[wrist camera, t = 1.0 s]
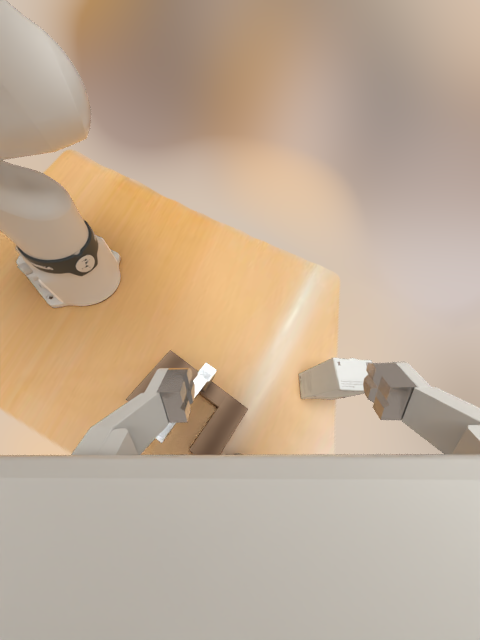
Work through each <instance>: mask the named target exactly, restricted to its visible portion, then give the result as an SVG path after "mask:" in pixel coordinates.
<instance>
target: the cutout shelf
mask: <svg viewBox="0 0 480 640" xmlns="http://www.w3.org/2000/svg"><path fill="white" fill-rule="evenodd" d="M159 368H190V369H191V371H192V378H191V380H192V381H194V379H195V378H196V377H197V373H198V371H197V370H196V369H195V368H193V367H192V366H191V365H189V364H188V363H187V362H185V361H184V360H183V359H181V358H180V357H179V356H177V355H176V354H175V353H173V352H172V351H171V350H170V351H169V352H168V353H167V354H166V355H165V356H164V358H163V359H162V360H161V361H160V362H159V363H158V364H157V365H156V366H155V368H154V369H153V370H152V371H151V372H150V373H149V374H148V375H147V376H146V378H145V379H144V380H143V381H142V382H141V383H140V384H139V385H138V387H137V388H136V389H135V390H134V391H133V392H132V393H131V394H130V395H129V397H128V398H127V399H126V400H127V401H128V402H129V401H130V400H132V399H133V398H135V397H136V396H137V395H139V394H140V393H144V392H145V391H146V389H147V387H148V385H149V383H150V382H151V380H152V378H153V376H154V374H155V373H156V371H157V370H158V369H159ZM199 394H201V395H202V396H203V397H205V398H206V399H207V400H209V401H210V402H211V403H212V404H214V405H215V406H216V407H218V408H217V409H216V411H215V412H214V414H213V415H212V417H211V418H210V420H209V421H208V422H207V424H206V425H205V427H204V428H203V430H202V431H201V433H200V434H199V436H198V437H197V438H196V440H195V441H194V443H193V444H192V446H191V447H190V449H189V451H191V452H192V453H193V454H194V455H220V453H221V452H222V450H223V449H224V447H225V445H226V444H227V442H228V441H229V439H230V437H231V436H232V434H233V432H234V431H235V429H236V428H237V426H238V424H239V423H240V421H241V420H242V418H243V416H244V415H245V413H246V411H247V410H248V409H247V408H246V407H245V406H243V405H242V404H241V403H239V402H238V401H237V400H235V399H234V398H233V397H231V396H230V395H229V394H228V393H226V392H225V391H224V390H222V389H221V388H220V387H218V386H217V385H216V384H214V383H213V382H211V384H210V386H209V387H208V388H207V390H206V391H205V392H204V391H202V390H201V391H200V392H199Z"/></svg>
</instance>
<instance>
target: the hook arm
mask: <svg viewBox="0 0 480 640" xmlns="http://www.w3.org/2000/svg"><path fill="white" fill-rule="evenodd" d="M216 371H217V370H216V369H214V368H213V367H212V366H210V365H209V364H208V363H205V364H204V366H203V367H202V368H201V369H200V371H199V372H198V373H197V377H196V378H195V379H194V381H193V382H194V385H195V397H194V399H195V398H196V396H197V395H198V394H199V392H200V391H201V390H202V391H204V392H205V391H206V390H207V388H208V387H209V386H210V384H211V382H212V380H213V378H214V376H215V373H216ZM175 424H176V423H169V424H168V425H167V426H166V428H165V429H164V430H163V431H162V432H161V433H160V434H159V435H158V436H157V437H156V439H157V440H158V441H160V442H161V443H162V442H163V441H164V440H165V438H166V437H167V436H168V434H169V433H170V432H171V430H172V428H173V427H174V426H175Z"/></svg>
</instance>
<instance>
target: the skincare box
mask: <svg viewBox="0 0 480 640" xmlns="http://www.w3.org/2000/svg"><path fill="white" fill-rule="evenodd" d="M369 363H372V361H371V360H358V359H354V358H351V359H341V358H332V359H329V360H327V361H325V362H323V363H321V364H319V365H317V366H314V367H312V368H310V369H308V370H306V371H304V372H302V373H300V374H299V382H300V393H301V399H329V400H334V399H339V398H345V397H349V396H355V395H360V394H364V393H365V392H364V388H363V382H364V378H365V377H366V376H367V375H368V373H367V371H366V369H367V366H368V364H369Z"/></svg>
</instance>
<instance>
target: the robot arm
mask: <svg viewBox="0 0 480 640" xmlns="http://www.w3.org/2000/svg"><path fill="white" fill-rule="evenodd" d="M90 124H91V109H90V104H89V99H88V95H87V92H86V89H85V86H84V84H83V82H82V80H81V77H80V75H79V74H78V72H77V70H76V68H75V67H74V65H73V63H72V62H71V60H70V59H69V57H68V56H67V55H66V54H65V52H64V51H63V50H62V48H61V47H60V46H59V45H58V44H57V43H56V42H55V41H54V40H53V39H52V38H51V37H50V36H49V35H48V34H47V33H46V32H45V31H44V30H43V29H42V28H41V27H39V26H38V25H37V24H35V23H34V22H32V21H31V20H30V19H28V18H27V17H26V16H24V15H23V14H22V13H21V12H19V11H18V10H17V9H16V8H14V7H13V6H12V5H11V4H10V3H9V2H8V1H6V0H0V231H1V232H3V233H4V234H5V235H6V236H7V237H8V238H9V239H10V240H12V241H13V242H14V243H15V244H16V250H17V252H18V253H19V254H20V256H19V257H18V259H17V261H16V263H17V265H18V266H17V267H18V268H19V269H20V270H21V271H22V272H23V273H24V274H25V275H26V276H27V277H28V279H29V280H30V281H31V283H32V284H33V285H34V286H35V288H36V289H37V290H38V292H39V293H40V294H41V295H42V297H43V298H44V299H45V301H46V302H47V303H48V304H49V305H50V306H51V307H53V308H58V307H63V306H67V305H74V306H88V305H93V304H96V303H99V302H101V301H103V300H105V299H107V298H108V297H109V296H111V295H112V294H113V293H114V292H115V290H116V289H117V287H118V285H119V283H120V278H121V275H120V270H119V263H120V259H121V257H120V255H119V254H118V253H117V252H115V251H113V250H111V249H110V248H109V247H108V245H107V244H106V242H105V240H104V239H103V238H102V237H99V236H97V235H95V234H94V232H93V230H92V229H91V227H90V226H89V225H88V223H87V222H86V221H85V220H84V219H83V218H82V216H81V215H80V213H79V211H78V209H77V207H76V206H75V204H74V202H73V200H72V198H71V197H70V195H69V193H68V192H67V191H66V189H65V188H64V187H63V186H61V185H60V184H59V183H58V182H56V181H55V180H53V179H52V178H50V177H49V176H47V175H45V174H43V173H41V172H38V171H36V170H32V169H29V168H24V167H21V166H17V165H13V164H10V163H8V162H5V161H3V160H4V159H11V158H17V157H24V156H31V155H37V154H44V153H51V152H55V151H58V150H60V149H63V148H65V147H68V146H71V145H73V144H75V143H77V142H80V141H82V140H84V139H86V138H87V135H88V133H89V129H90ZM52 297H53V299H51V298H52ZM366 371H367V373H368V375H367V376H366V377H365V378H364V382H363V388H364V392H365V395H366V396H367V398H368V399H369V400H370V401H372V402H373V403H374V405H373V408H374V410H375V412H376V413H377V415H378V416H379V418H380V420H402V422H403V423H405V424H406V425H407V426H409V427H410V428H411V429H413V430H414V431H415V432H416V433H418V434H419V435H420V436H422V437H423V438H424V439H426V440H427V441H428V442H429V443H431V444H432V445H433V446H435V447H436V448H437V449H438V450H440V451H441V452H442V453H444V454H384V455H383V454H382V455H381V454H375V455H374V454H367V455H365V454H363V455H362V454H356V455H355V454H350V455H348V454H347V455H346V454H343V455H342V454H339V455H338V454H335V455H140V454H141V453H142V452H143V451H144V450H145V449H146V448H147V447H148V446H149V445H150V444H151V443H152V441H153V440H154V439H155V438H156V437H157V436H158V435H159V434H160V433H161V432H162V431H163V430H164V429H165V428H166V426H167V425H168V424H169V423H178V422H188V418H189V415H190V411H191V408H190V404H192V403H193V401H194V397H195V385H194V382H193V381H192V380H191V378H192V371H191V369H190V368H159V369H158V370H157V371H156V373H155V374H154V376H153V378H152V380H151V382H150V383H149V385H148V387H147V389H146V391H145V392H144V393H140V394H139V395H137V396H136V397H135V398H133V399H132V400H130V401H129V402H127V403H126V404H124V405H123V406H121V407H120V408H118V409H117V410H116V411H114V412H113V413H111V414H110V415H108V416H107V417H105V418H104V419H102V420H101V421H100V422H98V423H97V424H95V425H94V426H92V427H91V428H90V429H89V430H88V432H87V433H86V435H85V436H84V437H83V439H82V440H81V442H80V443H79V444H78V446H77V447H76V449H75V450H74V451H73V453H72V454H71V455H0V640H480V408H479V407H476V406H474V405H472V404H470V403H468V402H466V401H464V400H462V399H460V398H458V397H455V396H453V395H451V394H449V393H447V392H445V391H443V390H441V389H439V388H436V387H431V386H430V385H429V384H428V383H427V382H426V381H425V380H424V379H423V378H422V377H421V376H420V375H419V374H418V373H417V372H416V371H415V370H414V369H413V368H412V367H411V366H410V365H409V364H408V363H406V362H393V363H369V364H368V366H367V369H366Z"/></svg>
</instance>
